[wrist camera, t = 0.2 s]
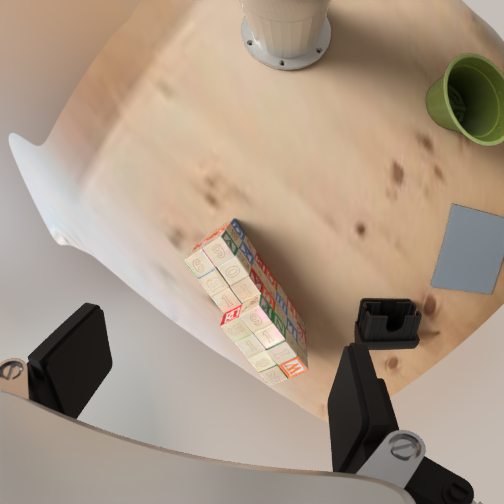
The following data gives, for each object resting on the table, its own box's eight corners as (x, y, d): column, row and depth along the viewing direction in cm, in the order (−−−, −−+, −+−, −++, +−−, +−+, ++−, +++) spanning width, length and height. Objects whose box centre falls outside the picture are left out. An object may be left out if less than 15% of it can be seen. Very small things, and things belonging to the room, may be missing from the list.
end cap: (351, 333, 52) (358, 357, 46) (358, 297, 50) (366, 319, 43) (404, 333, 51) (415, 355, 45) (413, 298, 48) (426, 318, 42)
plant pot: (479, 88, 35) (520, 81, 25) (465, 153, 39) (506, 160, 29) (418, 55, 35) (451, 36, 25) (403, 124, 40) (435, 121, 29)
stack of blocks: (201, 237, 49) (175, 268, 38) (234, 216, 47) (216, 242, 36) (274, 339, 54) (269, 388, 42) (306, 324, 52) (309, 372, 41)
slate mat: (451, 203, 42) (454, 204, 41) (510, 219, 41) (513, 220, 40) (430, 284, 47) (432, 287, 46) (488, 291, 46) (490, 294, 45)
